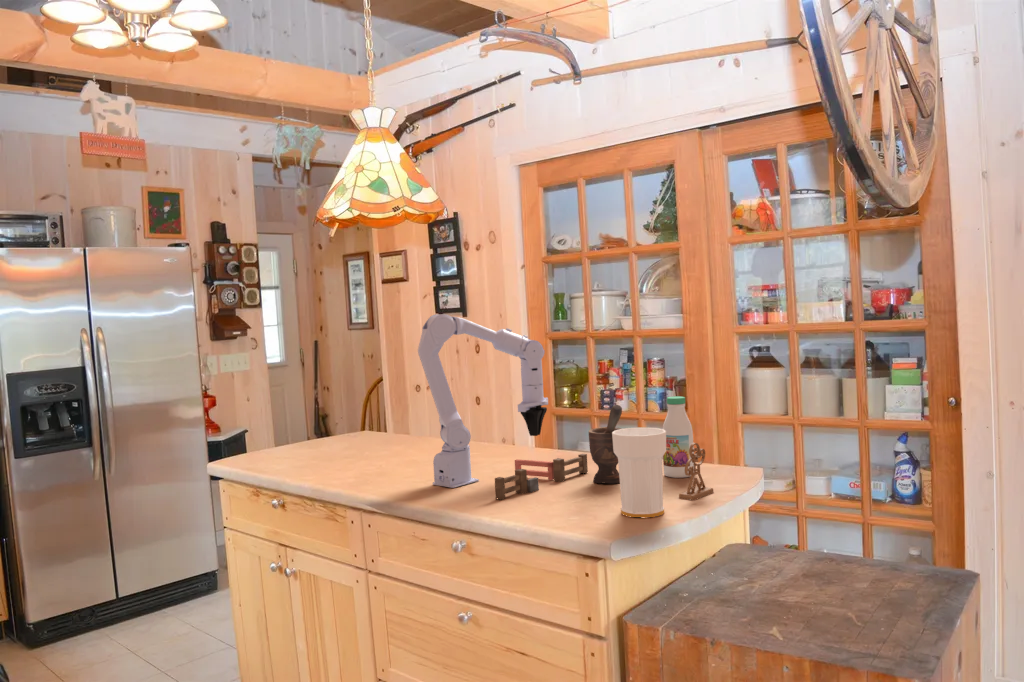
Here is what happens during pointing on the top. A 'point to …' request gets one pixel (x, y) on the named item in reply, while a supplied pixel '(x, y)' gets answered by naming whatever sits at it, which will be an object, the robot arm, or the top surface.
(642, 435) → the cup
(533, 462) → the gate
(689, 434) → the milk bottle
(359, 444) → the top surface
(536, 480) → the fence
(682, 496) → the gingerbread man figurine
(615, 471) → the mortar and pestle
